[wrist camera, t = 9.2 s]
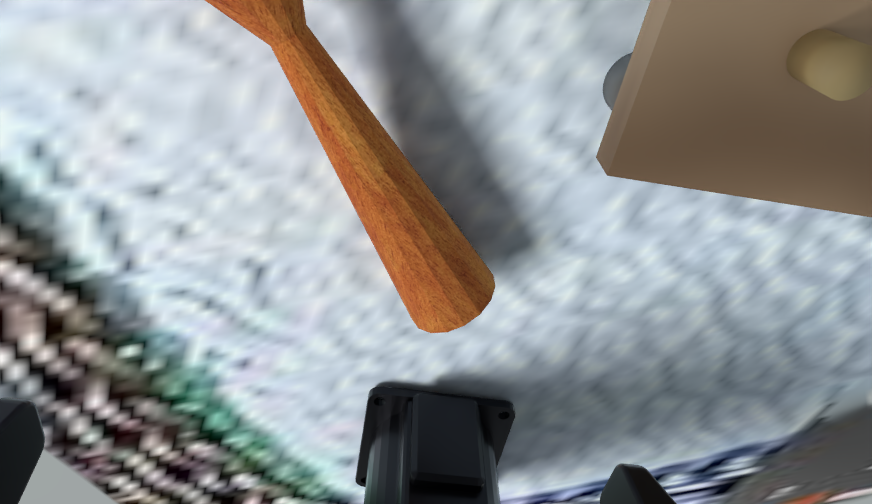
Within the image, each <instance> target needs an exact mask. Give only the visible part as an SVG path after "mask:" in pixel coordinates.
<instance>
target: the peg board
mask: <svg viewBox="0 0 872 504" xmlns="http://www.w3.org/2000/svg"><path fill="white" fill-rule="evenodd" d="M603 95H604V99H605V101H606V103H607V105H608V106H609V107H610V109H611V110H612V113H611V116H610V119H609V122H608V125H607V127H606V130H605V133H604V136H603V139H602V142H601V145H600V147H599V150H598V153H597V156H596V158H597V160H598V161H599V163H600V164H601V166H602V168H603V169H604V171H605V173H606V174H607V176H614V177H620V178H626V179H633V180H639V181H645V182H652V183H658V184H664V185H671V186H677V187H683V188H690V189H696V190H702V191H709V192H715V193H721V194H728V195H734V196H740V197H747V198H753V199H759V200H766V201H772V202H778V203H785V204H791V205H797V206H804V207H810V208H816V209H823V210H829V211H835V212H842V213H848V214H854V215H861V216H867V217H872V0H651V1H650V4H649V7H648V10H647V13H646V16H645V18H644V21H643V24H642V27H641V30H640V33H639V36H638V39H637V41H636V44H635V47H634V50H633V53H631V54H628V55H626V56H624V57H622V58H621V59H619V60H618V61H617V62H616V63H615V64H614V65H613V66H612V67H611V68H610V70H609V71H608V73H607V75H606V77H605V80H604V84H603Z"/></svg>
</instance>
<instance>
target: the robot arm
mask: <svg viewBox="0 0 872 504" xmlns="http://www.w3.org/2000/svg"><path fill="white" fill-rule="evenodd" d="M378 398H383V399H378ZM514 418H515V410H514V406H513V404H512V403H510V402H508V401H503V400H494V399H485V398H477V397H468V396H459V395H450V394H441V393H433V392H424V391H415V390H406V389H397V388H388V387H375V388H373V389H371V390H370V392H369V395H368V401H367V408H366V414H365V421H364V427H363V433H362V440H361V446H360V453H359V459H358V466H357V472H356V483H357V484H358V485H360V486H363V487H366V489H365V499H364V504H500V496H499V487H498V478H497V470H496V468H497V465H498V462H499V459H500V456H501V454H502V451H503V448H504V445H505V443H506V440H507V437H508V434H509V432H510V429H511V426H512V423H513V421H514ZM44 443H45V436H44V431H43V428H42V424H41V421H40V417H39V414H38V410H37V407H36V404H35V403H34V402H33V401H31V400H27V399H18V398H1V399H0V504H18V503H19V501H20V498H21V496H22V494H23V492H24V490H25V488H26V486H27V483H28V481H29V479H30V477H31V474H32V473H33V470H34V468H35V466H36V464H37V462H38V460H39V458H40V455H41V453H42V451H43V447H44ZM600 504H676V502H675V501H674V500H673V499H672V498H671V497H670V496H669V494H668V493H667V492H666V491H665V490H664V489H663V487H662V486H661V485H660V484H659V483H658V482H657V480H656V479H655V478H654V477H653V476H652V475H651V474H650V472H649V471H648V470H647V469H645V468H644V467H642V466H639V465H631V464H619V465H617V466H616V467H615V469H614V471H613V473H612V474H611V476H610V478H609V480H608V482H607V484H606V485H605V487H604V489H603V491H602V493H601V497H600Z"/></svg>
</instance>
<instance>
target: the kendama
mask: <svg viewBox="0 0 872 504" xmlns="http://www.w3.org/2000/svg"><path fill="white" fill-rule="evenodd" d="M205 1H207V2H208V3H210V4H211V5H212V6H214V7H215V8H217V9H218V10H220V11H221V12H223V13H224V14H225V15H227V16H228V17H230V18H231V19H233V20H234V21H236V22H237V23H238V24H240V25H241V26H243V27H244V28H246V29H247V30H249V31H250V32H251V33H253V34H254V35H256V36H257V37H259V38H260V39H261V40H263V41H264V42H266V43H267V44H269V45H270V46H271V48H272V50H273V51H274V53H275V55H276V57H277V59H278V61H279V63H280V65H281V67H282V69H283V71H284V73H285V75H286V77H287V79H288V80H289V82H290V84H291V86H292V88H293V90H294V92H295V94H296V96H297V98H298V100H299V102H300V104H301V106H302V108H303V109H304V111H305V113H306V115H307V117H308V119H309V121H310V123H311V125H312V127H313V129H314V131H315V133H316V135H317V136H318V138H319V140H320V142H321V144H322V146H323V148H324V150H325V152H326V154H327V156H328V158H329V160H330V162H331V164H332V165H333V167H334V169H335V171H336V173H337V175H338V177H339V179H340V181H341V183H342V185H343V187H344V189H345V191H346V193H347V194H348V196H349V198H350V200H351V202H352V204H353V206H354V208H355V210H356V212H357V214H358V216H359V218H360V220H361V221H362V223H363V225H364V227H365V229H366V231H367V233H368V235H369V237H370V239H371V241H372V243H373V245H374V247H375V249H376V250H377V252H378V254H379V256H380V258H381V260H382V262H383V264H384V266H385V268H386V270H387V272H388V274H389V276H390V278H391V279H392V281H393V283H394V285H395V287H396V289H397V291H398V293H399V295H400V297H401V299H402V301H403V303H404V305H405V306H406V308H407V310H408V312H409V314H410V316H411V318H412V320H413V321H414V323H415V324H416V325H417V327H418V328H419V329H422V330H424V331H427V332H430V333H440V332H449V331H451V330H454V329H457V328H459V327H462V326H465V325H466V324H467V323H469V322H470V321H471V320H473V319H474V318H476V317H477V316H478V315H480V314H481V312H482V311H483V310H484V309H485V307H486V306H487V305H488V303H489V302H490V301H491V298H492V295H493V292H494V289H495V282H494V277H493V274H492V273H491V271H490V270H489V269H488V267H487V266H486V265H485V263H484V262H483V261H482V259H481V258H480V257H479V255H478V254H477V253H476V251H475V250H474V249H473V247H472V246H471V245H470V243H469V242H468V241H467V239H466V238H465V236H464V235H463V234H462V232H461V231H460V230H459V228H458V227H457V226H456V224H455V223H454V222H453V220H452V219H451V218H450V216H449V215H448V214H447V212H446V211H445V210H444V208H443V207H442V206H441V204H440V203H439V202H438V200H437V199H436V198H435V196H434V195H433V194H432V192H431V191H430V190H429V188H428V187H427V186H426V184H425V183H424V182H423V180H422V179H421V178H420V176H419V175H418V174H417V172H416V171H415V170H414V168H413V167H412V165H411V164H410V163H409V161H408V160H407V159H406V157H405V156H404V155H403V153H402V152H401V151H400V149H399V148H398V147H397V145H396V144H395V143H394V141H393V140H392V139H391V137H390V136H389V135H388V133H387V132H386V131H385V129H384V128H383V127H382V125H381V124H380V123H379V121H378V120H377V119H376V117H375V116H374V115H373V113H372V112H371V111H370V109H369V108H368V107H367V105H366V104H365V103H364V101H363V100H362V99H361V97H360V96H359V94H358V93H357V92H356V90H355V89H354V88H353V86H352V85H351V84H350V82H349V81H348V80H347V78H346V77H345V76H344V74H343V73H342V72H341V70H340V69H339V68H338V66H337V65H336V64H335V62H334V61H333V60H332V58H331V57H330V56H329V54H328V53H327V52H326V50H325V49H324V48H323V46H322V45H321V44H320V42H319V41H318V40H317V38H316V37H315V36H314V34H313V33H312V32H311V30H310V29H309V28H308V26H307V25H306V19H305V12H304V6H303V0H205Z"/></svg>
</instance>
